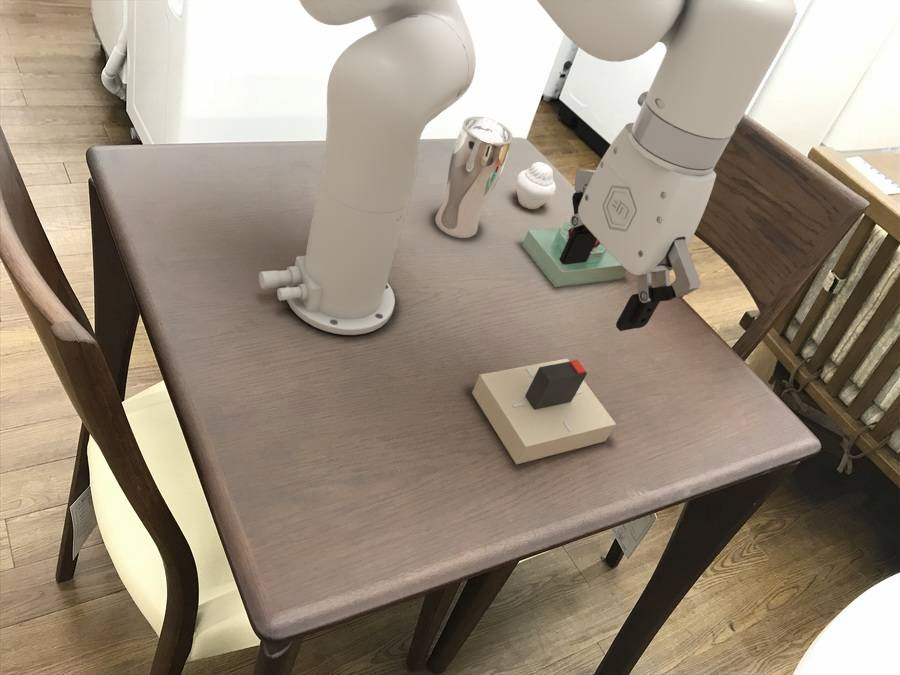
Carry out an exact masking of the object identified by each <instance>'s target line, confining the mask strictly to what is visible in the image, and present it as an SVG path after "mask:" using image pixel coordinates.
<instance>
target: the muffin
mask: <svg viewBox="0 0 900 675" xmlns="http://www.w3.org/2000/svg"><path fill="white" fill-rule="evenodd" d="M515 187H516V194H517V200H518V203H519V204H520V205H521V206H522V207H523V208H526V209H528V210H537V209H539V208H540V207H541V206H543V205H544V204H545V203H547V202H548V201H549V200H550V199H551V198H552V197H553V196H554V195H555V194H556V191H557V185H556V183H555V180H554V172H553V168H552V167H551V166H550V165H549V164H547V163H544V162H541V161H536V162H534V163H532V164H531V165H530V166H529V167H527V169H526V168H525V169H523V170H522V171H520V172H519V173H518V175H517V177H516V185H515Z"/></svg>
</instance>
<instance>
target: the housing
mask: <svg viewBox="0 0 900 675" xmlns="http://www.w3.org/2000/svg"><path fill="white" fill-rule="evenodd" d="M572 228H573V226H572V225H571V221H567V222H565V223H564V224H562V225H561V226H560V227H556V228H554V227H553V228H539V229H529V230H527V232H526V235H525V237H524V239H523V242H522V245H521V247H522V248H523V249H524V250H525V252H526V253H527V254H528V255H529V257H530V258H531V259H532V260H533V262H534V263H535V264H536V265H537V267H538V268H539V269H540V270H541V272H542V273H543V274H544V276H546V278H547V279H548V280H549V282H550V283H551V284H552V285H553V286H554V288H560V287H569V286H574V285H576V286H577V285H583V284H591V283H592V284H593V283H599V282H608V281H617V280H622V279H623V278H624V276H625V274H626V272H627V270H626V269H625V268H624V267H623V266H622V265H621V264H620V263H619V262H618V261H617V260H616V259H615V258H614V257H613V256H612V255H611V254H610V253H609V251H608V250H607V249H606V248H605V247H604V246H603V245H602V244H601V243H600V242H599V241H598V243H597V245H596V246H595V247H593V249H592V251H591V254H590V256H589V258H588V260H587V261H586V262H583V263H575V264H567V265H565V264H562V263H561V262H560V260H559V259H560V257H561V254H562V252H563V250H564V248H565V245H566V243H567V241H568V239H569V236H570V232H571V230H572Z"/></svg>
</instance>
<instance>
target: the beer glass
mask: <svg viewBox="0 0 900 675" xmlns="http://www.w3.org/2000/svg"><path fill="white" fill-rule="evenodd" d="M462 123H463V124H462V126H461V129H460V130H459V133H458V135H457V138H456V141H455V143H454V146H453V149H452V152H451V153H452V154H451V156H450V161H449V166H448V174H447V183H446V192H445V195H444V199H443V201H442V204H441V206H440V207H439V209H438V211H437V213H436V215H435V218H434V222H435V224H436V226H437V228H439V230H440V231H441V232H443V233H445V234H446V235H448V236H451V237H454V238H458V239H468V238H472V237H474V236H475V235H476V234H477V232H478V230H479V221H480V216H481V213H482V210H483V207H484V206H485V204H486V202H487V201H488V198H489V196H490V195H491V194H492V191H493V190H494V189H495V186H496V185H497V183H498V181H499V179H500V177H501V175H502V173H503V170H504V167H505V165H506V162H507V159H508V155H509V152H510V147H511V144H512V142H513V133H512V131H511V130H510V129H509V128H508V127H506V126H505V125H504V124H502V123H501V122H499V121H496V120H494V119H491V118H488V117H484V116H469V117H466V118H465V119H464V121H463V122H462Z"/></svg>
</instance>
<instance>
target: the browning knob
mask: <svg viewBox="0 0 900 675" xmlns="http://www.w3.org/2000/svg"><path fill="white" fill-rule="evenodd" d="M569 361H570V362H564V363H559V364H554V365H548V366H543V367H539V369H538V371H537V373H536V375H535V377H534V379H533V381H532V383H531V385H530V387H529V389H528V391H527V393H526V395H525V397H526V398H527V400H528V401H529V403H530V404H531V406H532V407H533V409H534V410H536V409H540V408H545V407H549V406H554V405H558V404H563V403H567V402H571V401H572V400H573V398H574V396H575V394H576V392H577V391H578V389H579V387H580V385H581V384H582V382H583V380H584V381H585V378H586V377H587V375H588V372H587V370H586V369H585V367H584V366H583V365H582V364H581V362H580V361H579V360H578V359H574V360H569Z"/></svg>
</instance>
